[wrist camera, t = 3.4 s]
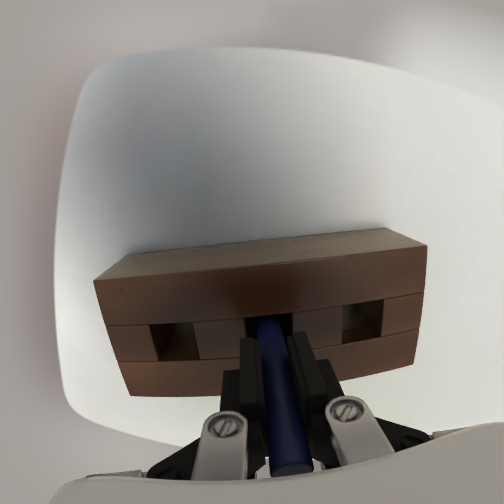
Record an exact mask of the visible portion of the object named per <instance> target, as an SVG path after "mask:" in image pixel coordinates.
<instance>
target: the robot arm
mask: <svg viewBox="0 0 504 504" xmlns="http://www.w3.org/2000/svg"><path fill="white" fill-rule="evenodd" d="M287 348H288V361H289V365H290V370H291V374H292V378H293V383H294V387H295V391H296V396H297V400H298V404H299V409H300V413H301V418H302V422H303V425H304V427H305V430H306V435H307V439H308V443H309V448H310V452H311V457H312V458H313V459H315V460H317V461H319V462H321V468H322V471H317V472H311V473H305V474H298V475H291V476H283V477H274V478H263V479H257V474H256V471H258V470H259V469H260V468H261V467H262V466H263V465H265V464H266V462H265V457H268V446H267V435H266V432H267V429H268V427H267V417H266V407H265V396H264V386H263V376H262V365H261V356H260V346H259V340H254V339H253V337H248V338H240V368H239V369H235V370H224V371H223V379H222V391H221V402H220V412H217V413H214V414H213V415H211V416H209V417H208V418H207V419H206V420H205V422H204V424H203V428H202V433H201V437H200V438H198V439H197V440H195V441H193V442H192V443H190V444H189V445H187V446H185V447H184V448H182V449H181V450H179V451H177V452H176V453H174V454H173V455H171V456H169V457H167V458H166V459H164V460H162V461H161V462H159V463H157V464H156V465H154V466H153V467H151V468H150V469H149V471H148V472H142V471H141V470H135V471H127V472H118V473H108V474H94V475H89V476H87V477H85V478H82V479H78V480H74V481H71V482H68V483H66V484H65V485H63V486H62V487H61V488H60V489H59V490H58V491H57V492H56V493H55V494H54V496H53V497H52V499H51V500H50V502H49V504H504V422H493V423H486V424H480V425H476V426H471V427H466V428H460V429H453V430H446V431H438V432H433V433H432V435H427V434H426V433H425V432H422V431H420V430H416V429H413V428H409V427H406V426H403V425H399V424H396V423H393V422H389V421H386V420H383V419H380V418H377V417H374V416H373V414H372V412H371V411H370V409H369V407H368V406H367V404H366V403H365V402H364V401H363V400H361V399H360V398H357V397H354V396H345V395H344V393H343V391H342V388H341V386H340V384H339V381H338V379H337V377H336V374H335V372H334V370H333V367H332V365H331V363H330V361H329V359H328V358H326V359H320V360H316V358H315V355H314V353H313V350H312V347H311V345H310V342H309V339H308V337H307V334H306V332H305V331H301V332H293V333H292V336H289V337H287Z"/></svg>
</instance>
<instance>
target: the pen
mask: <svg viewBox="0 0 504 504" xmlns="http://www.w3.org/2000/svg"><path fill="white" fill-rule="evenodd" d="M256 324H257V335H258V340H259V346H260V356H261V365H262V376H263V386H264V396H265V407H266V417H267V427H268V429H267V432H266V435H267V446H268V457H269V467H270V475H271V477H272V478H274V477H283V476H291V475H298V474H305V473H311V472H313V470H314V466H313V461H312V457H311V452H310V448H309V443H308V439H307V435H306V430H305V427H304V425H303V422H302V418H301V413H300V409H299V404H298V400H297V396H296V391H295V387H294V383H293V378H292V374H291V370H290V365H289V361H288V354H287V350H286V346H285V341H284V337H283V333H282V329H281V325H280V321H279V317H278V314H273V315H264V316H256Z"/></svg>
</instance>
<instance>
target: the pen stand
mask: <svg viewBox="0 0 504 504" xmlns="http://www.w3.org/2000/svg"><path fill="white" fill-rule="evenodd" d="M426 264H427V245H425V244H422V243H420V242H418V241H416V240H413V239H411V238H409V237H406V236H404V235H402V234H399V233H397V232H395V231H392V230H390V229H388V228H380V229H370V230H359V231H348V232H338V233H328V234H317V235H307V236H297V237H287V238H277V239H268V240H258V241H248V242H239V243H229V244H220V245H210V246H201V247H192V248H183V249H174V250H165V251H156V252H147V253H138V254H129V255H126V256H125V257H124V258H122V259H121V260H120V261H118V262H117V263H116V264H114V265H113V266H112V267H110V268H109V269H108V270H106V271H105V272H104V273H103V274H101V275H100V276H99V277H97V278H96V279H95V280H93V283H94V287H95V291H96V294H97V298H98V302H99V306H100V309H101V313H102V316H103V320H104V323H105V326H106V329H107V332H108V335H109V338H110V342H111V345H112V348H113V351H114V353H115V356H116V359H117V361H118V365H119V368H120V371H121V373H122V376H123V379H124V381H125V384H126V386H127V389H128V391H129V394H130V396H145V397H197V396H221V391H222V379H223V371H224V370H235V369H239V368H240V338H248V337H253V339H254V340H258V335H257V324H256V316H264V315H273V314H278V317H279V321H280V325H281V329H282V333H283V337H284V341H285V346H286V350H287V354H288V348H287V337H289V336H292V333H293V332H301V331H305V332H306V334H307V337H308V339H309V342H310V345H311V347H312V350H313V353H314V355H315V358H316V360H320V359H326V358H328V359H329V361H330V363H331V365H332V367H333V370H334V372H335V374H336V377H337V379H338V381H344V380H349V379H354V378H359V377H363V376H368V375H372V374H377V373H381V372H385V371H389V370H393V369H397V368H401V367H405V366H409V365H412V364H413V363H414V358H415V352H416V347H417V341H418V335H419V327H420V321H421V314H422V306H423V297H424V289H425V277H426Z"/></svg>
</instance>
